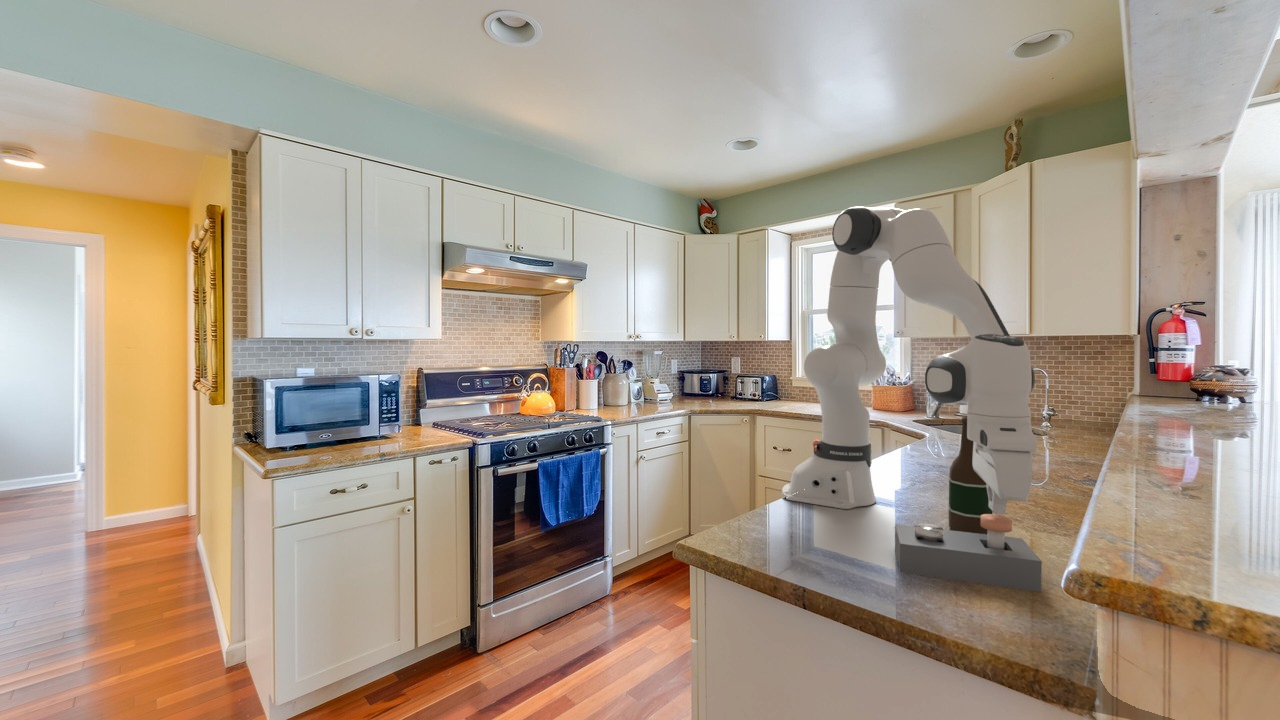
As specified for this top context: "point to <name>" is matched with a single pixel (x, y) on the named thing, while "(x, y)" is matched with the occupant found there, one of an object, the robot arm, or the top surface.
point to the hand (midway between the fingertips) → (996, 511)
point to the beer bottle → (966, 490)
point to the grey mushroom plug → (929, 532)
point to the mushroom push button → (996, 529)
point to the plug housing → (969, 559)
